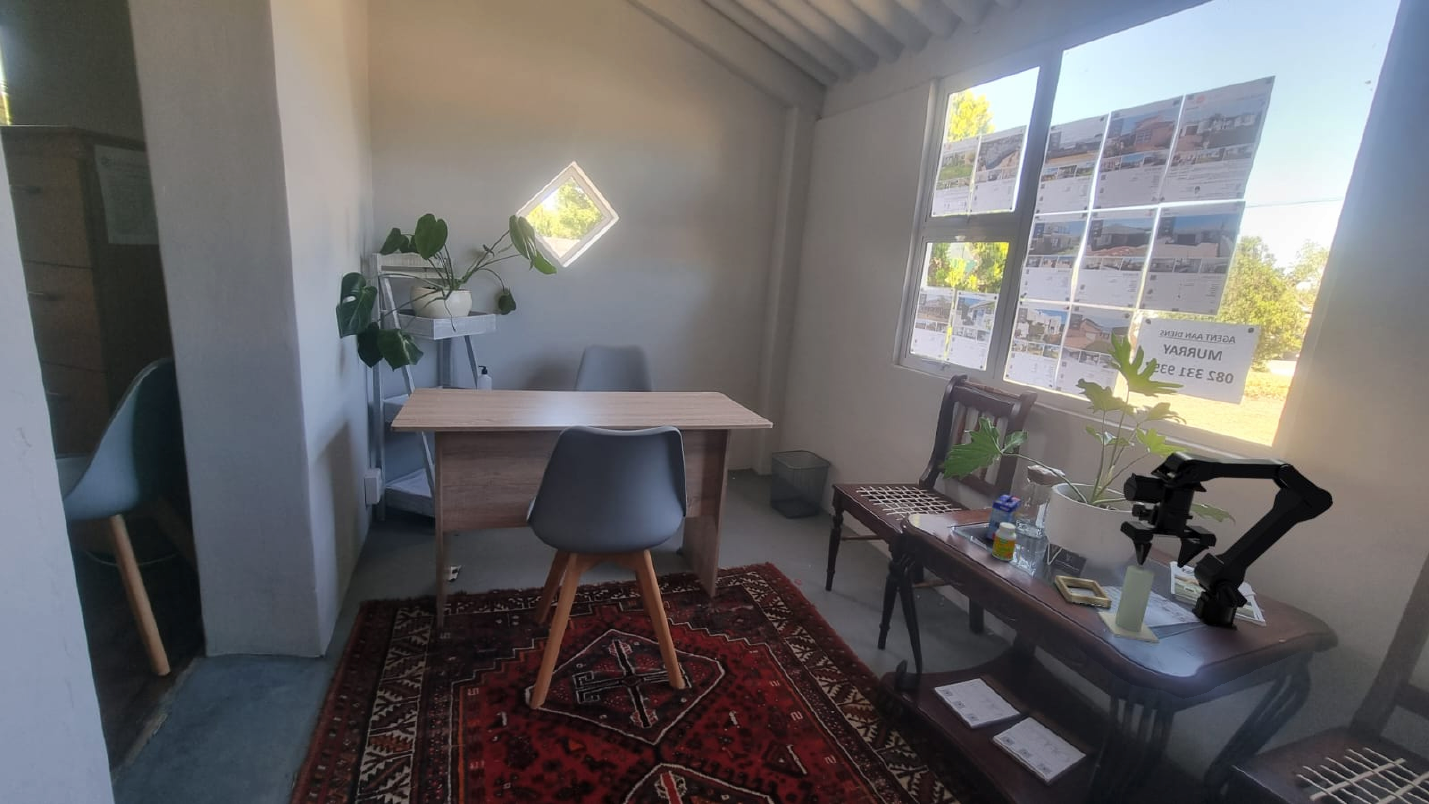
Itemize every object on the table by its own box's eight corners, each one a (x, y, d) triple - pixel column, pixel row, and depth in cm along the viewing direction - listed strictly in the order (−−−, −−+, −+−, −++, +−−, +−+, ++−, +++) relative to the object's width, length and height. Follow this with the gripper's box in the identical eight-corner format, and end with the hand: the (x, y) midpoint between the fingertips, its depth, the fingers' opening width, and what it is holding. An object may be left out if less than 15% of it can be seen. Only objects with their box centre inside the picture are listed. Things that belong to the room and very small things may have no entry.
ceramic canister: (1134, 621, 137) (1147, 567, 134) (1145, 633, 132) (1159, 578, 129) (1111, 617, 138) (1123, 564, 135) (1120, 629, 133) (1133, 574, 130)
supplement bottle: (993, 558, 165) (998, 527, 163) (990, 550, 170) (996, 519, 168) (1013, 562, 163) (1019, 531, 161) (1010, 554, 168) (1016, 523, 166)
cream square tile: (1139, 619, 138) (1139, 617, 138) (1158, 642, 130) (1159, 640, 130) (1097, 613, 140) (1097, 611, 140) (1114, 636, 132) (1114, 633, 132)
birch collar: (1094, 587, 152) (1095, 580, 152) (1110, 608, 143) (1112, 600, 142) (1054, 581, 154) (1055, 575, 153) (1067, 601, 145) (1069, 594, 144)
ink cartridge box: (1004, 544, 174) (1012, 499, 171) (985, 538, 178) (993, 494, 174) (1015, 535, 181) (1023, 491, 178) (996, 529, 185) (1004, 486, 181)
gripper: (1190, 495, 144) (1175, 552, 148) (1113, 490, 145) (1100, 547, 148) (1226, 514, 133) (1209, 575, 137) (1142, 508, 134) (1128, 569, 137)
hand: (1159, 565), depth 140 cm, fingers open, 9 cm apart
